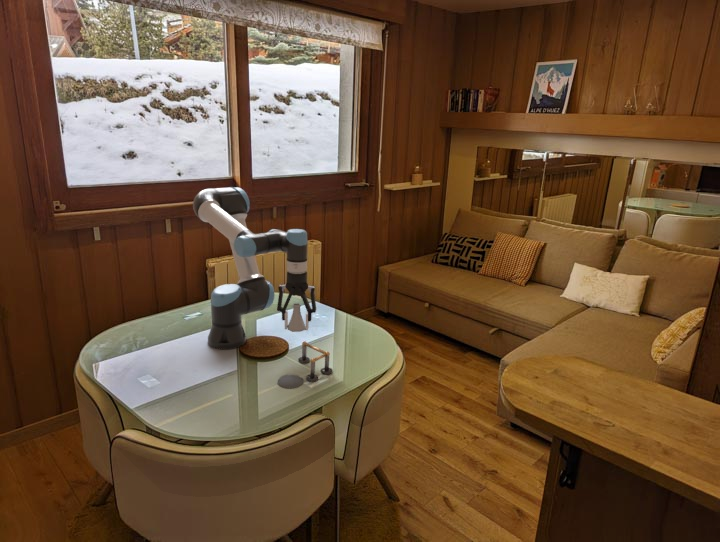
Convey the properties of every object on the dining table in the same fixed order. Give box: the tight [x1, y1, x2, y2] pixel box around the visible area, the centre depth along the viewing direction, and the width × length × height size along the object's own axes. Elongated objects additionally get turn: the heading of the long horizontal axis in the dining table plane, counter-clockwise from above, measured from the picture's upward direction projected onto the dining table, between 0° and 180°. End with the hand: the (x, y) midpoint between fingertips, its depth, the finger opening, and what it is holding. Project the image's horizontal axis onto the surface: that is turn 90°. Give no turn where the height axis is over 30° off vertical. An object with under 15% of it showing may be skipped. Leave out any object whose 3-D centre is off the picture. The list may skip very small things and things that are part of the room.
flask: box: [287, 302, 307, 333], centre depth 188 cm, size 7×7×10 cm
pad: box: [277, 374, 304, 389], centre depth 176 cm, size 9×9×1 cm
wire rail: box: [298, 340, 333, 383], centre depth 184 cm, size 16×12×8 cm
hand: (296, 328), depth 190 cm, fingers closed on flask, 7 cm apart
